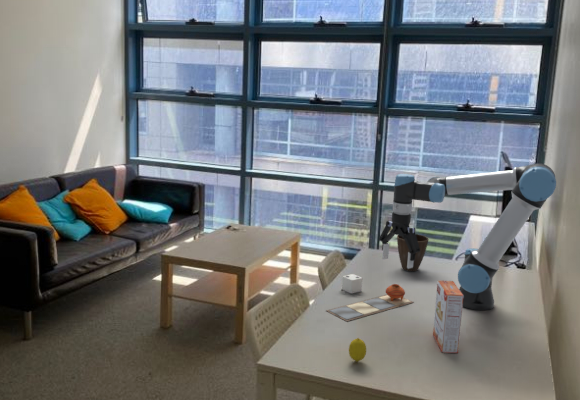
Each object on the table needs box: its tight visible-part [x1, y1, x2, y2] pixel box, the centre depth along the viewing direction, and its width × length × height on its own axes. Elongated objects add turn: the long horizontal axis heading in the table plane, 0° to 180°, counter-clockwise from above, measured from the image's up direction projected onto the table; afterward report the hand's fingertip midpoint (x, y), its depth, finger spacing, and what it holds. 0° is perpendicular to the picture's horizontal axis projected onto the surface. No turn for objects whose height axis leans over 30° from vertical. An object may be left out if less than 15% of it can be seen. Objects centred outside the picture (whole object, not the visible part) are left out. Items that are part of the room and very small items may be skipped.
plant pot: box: [396, 233, 429, 272], centre depth 277 cm, size 15×15×16 cm
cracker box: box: [432, 280, 464, 354], centre depth 196 cm, size 14×6×21 cm, turn 178°
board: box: [325, 294, 414, 322], centre depth 229 cm, size 12×37×1 cm, turn 127°
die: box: [341, 273, 363, 294], centre depth 246 cm, size 6×6×6 cm
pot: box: [385, 283, 406, 301], centre depth 237 cm, size 8×8×7 cm
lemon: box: [348, 337, 367, 363], centre depth 182 cm, size 6×6×8 cm
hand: (397, 263), depth 234 cm, fingers open, 13 cm apart
